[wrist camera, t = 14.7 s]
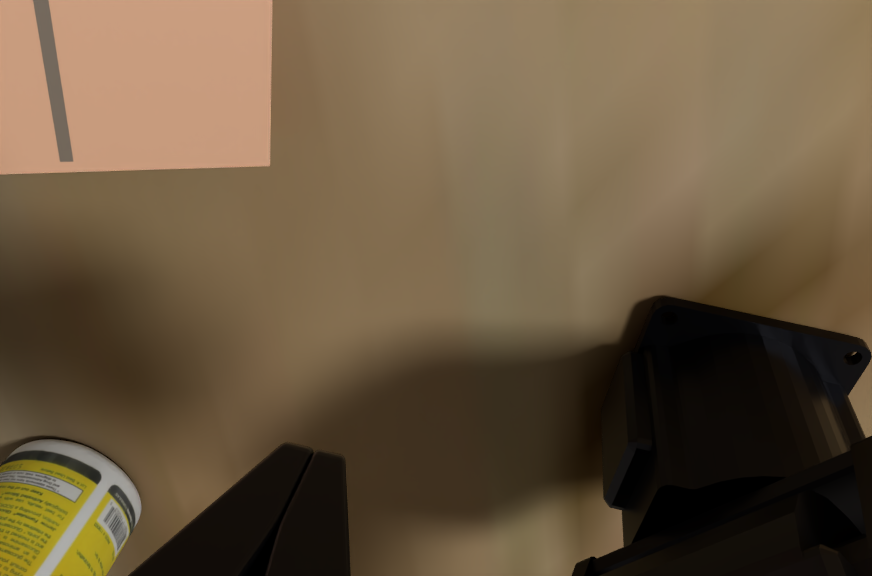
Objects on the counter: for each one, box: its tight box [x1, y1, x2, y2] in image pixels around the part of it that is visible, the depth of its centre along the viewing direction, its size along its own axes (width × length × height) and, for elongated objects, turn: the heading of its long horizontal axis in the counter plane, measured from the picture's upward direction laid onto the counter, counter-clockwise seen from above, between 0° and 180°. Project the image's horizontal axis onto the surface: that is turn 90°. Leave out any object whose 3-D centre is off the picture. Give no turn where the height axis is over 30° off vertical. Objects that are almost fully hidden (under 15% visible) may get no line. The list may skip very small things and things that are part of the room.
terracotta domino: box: [0, 0, 272, 174], centre depth 18 cm, size 2×5×10 cm
